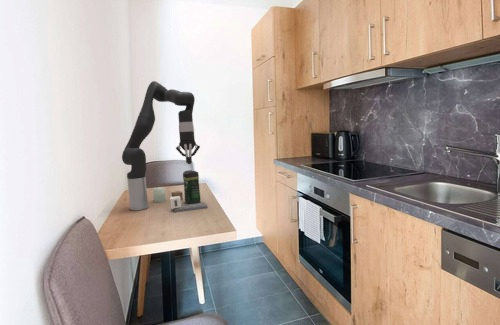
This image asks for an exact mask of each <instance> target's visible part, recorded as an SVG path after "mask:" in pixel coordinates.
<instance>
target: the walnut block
mask: <svg viewBox="0 0 500 325" xmlns="http://www.w3.org/2000/svg"><path fill="white" fill-rule="evenodd" d="M175 196H180V199H181V201H183V199H184V198H183V192H182V191H181V190H179V191H177V190H176V191H172V192H171V197H175Z"/></svg>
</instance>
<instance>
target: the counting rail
mask: <svg viewBox="0 0 500 325" xmlns="http://www.w3.org/2000/svg"><path fill="white" fill-rule="evenodd" d="M172 209H173V212H174V213H180V212H187V211H195V210H202V209H208V205H207V203H206V202H198V203H195V204H194V203H191V204H189V203H187V204H181V207H180V208H172Z"/></svg>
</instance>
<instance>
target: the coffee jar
mask: <svg viewBox="0 0 500 325" xmlns="http://www.w3.org/2000/svg"><path fill="white" fill-rule="evenodd" d="M199 175H200V174H199V172H198V171H197V170H192V169H191V170H190V169H189V170H184V171H183V172H182V179H183V189H184V190H183V191H184V192H183V193H184V203H187V204H196V203H201V193H200V176H199Z"/></svg>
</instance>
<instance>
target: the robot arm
mask: <svg viewBox="0 0 500 325" xmlns="http://www.w3.org/2000/svg"><path fill="white" fill-rule="evenodd" d="M195 98H196V97H195V95H194V94H193V93H192V92H190V91H181V90H176V89H167V88H166V87H165V86H164V85H162V84H161V83H159V82H158V81H156V80H153V81H151V82H150V83H149V85H148V86H147V89H146V92H145V95H144V99H143V102H142V106H141V109H140V111H139V114H138V116H137V118H136V121H135V125H134V127H133V130H132V132H131V135H130V137H129V140H128V142H127V144H126V145H125V147H124V149H123V150H122V155H121V160H122V162H123V163H124V165H128V166H130V171H129V172H127V173H126V178H127V179H126V180H127V187H128V188H127V189H128V199H129V208H130V211H142V210H146V209H148V208H149V200H148V189H147V178H146V173H147V158H146V153H145V151H144V149H142V148H140V147H141V145H142V143H143V142H144V140H145V139H146V138H147V137H148V136H149V135H150V134H151V132H152V130H153V127H154V125H155V121H156V115H155V110H154V103H153V102H154V100H155V101H157V102H159V103H160V102H161V103H165V102H166V103H167V102H168V103H172V104H174V105H175V106H179V107H185V109H184V110H183V109H182V110H180V111H178V114H177V115H178V132H179V143H178V145H177V146H175V150H176V151H178V153H179V154H180V155H181V156H182V157H185V163H186V164H187V165H191V164H192V162H193V159H192V157H193V156H195V155H196V153H198V151H199V149H200V148H201V146H200V145H198V143H196V140H195V128H194V121H193V118H194V117H193V112H194V107H195V106H194V104H195ZM181 149H182V150H183V151H184V152H183V151H182V150H181ZM193 149H194V151H192V150H193Z"/></svg>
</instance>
